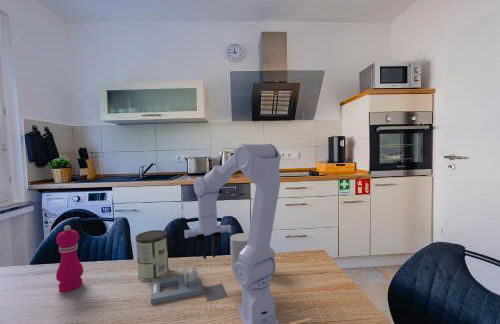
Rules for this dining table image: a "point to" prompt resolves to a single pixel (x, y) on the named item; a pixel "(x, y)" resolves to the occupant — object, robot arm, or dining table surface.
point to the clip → (190, 277)
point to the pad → (215, 292)
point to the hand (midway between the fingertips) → (209, 256)
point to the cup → (237, 247)
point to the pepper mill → (69, 261)
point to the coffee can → (152, 255)
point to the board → (173, 294)
